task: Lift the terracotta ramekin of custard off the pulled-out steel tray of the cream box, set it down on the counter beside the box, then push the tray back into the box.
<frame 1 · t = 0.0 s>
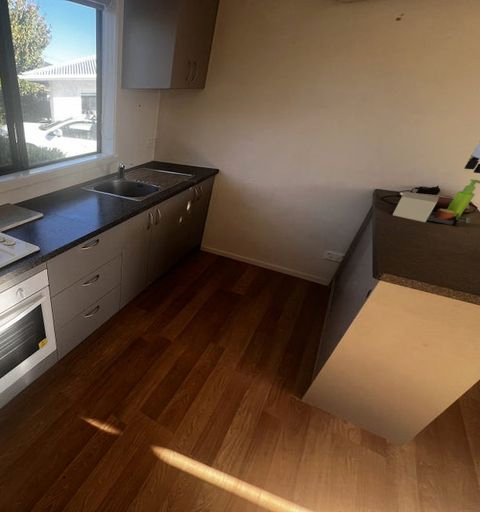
hand: (473, 170, 137), 27 cm above the worktop, tool pointing down, fingers open, 9 cm apart
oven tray: (445, 217, 149), point 3 cm above the worktop, slide at 9.0 cm, touching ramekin
cream box: (409, 216, 159), on the worktop
soap dispenser: (451, 217, 158), on the worktop
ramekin: (442, 219, 150), point 2 cm above the worktop, touching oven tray
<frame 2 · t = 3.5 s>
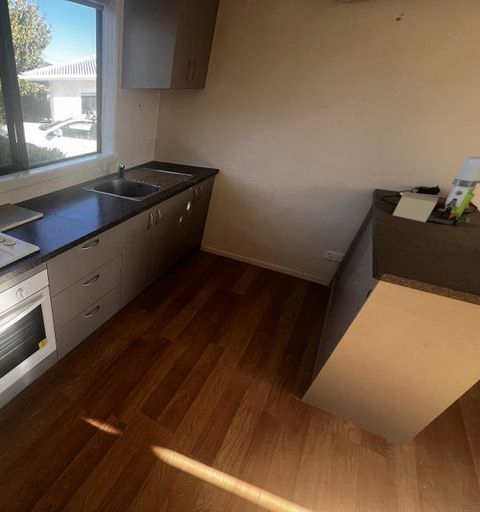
hand: (443, 217, 150), 3 cm above the worktop, tool pointing down, fingers closed on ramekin, 6 cm apart
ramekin: (442, 218, 150), point 2 cm above the worktop, touching gripper, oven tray
everything else where it was.
when the fingers open (1 cm above the worktop, at t = 11.2 s): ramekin stays where it is, on the worktop.
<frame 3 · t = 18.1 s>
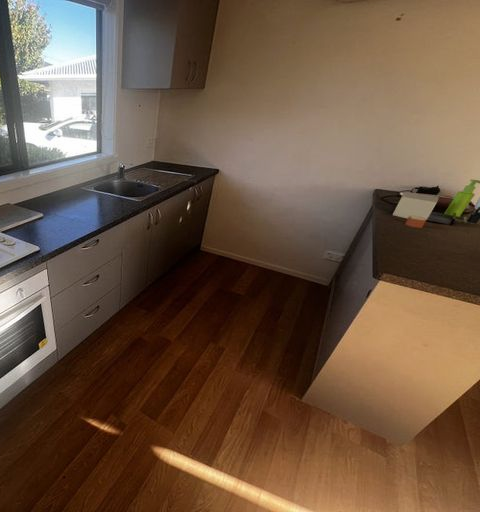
hand: (471, 222, 144), 3 cm above the worktop, tool pointing down, fingers closed
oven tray: (442, 216, 150), point 3 cm above the worktop, slide at 8.1 cm, touching gripper
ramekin: (413, 226, 147), on the worktop
everything else where it was.
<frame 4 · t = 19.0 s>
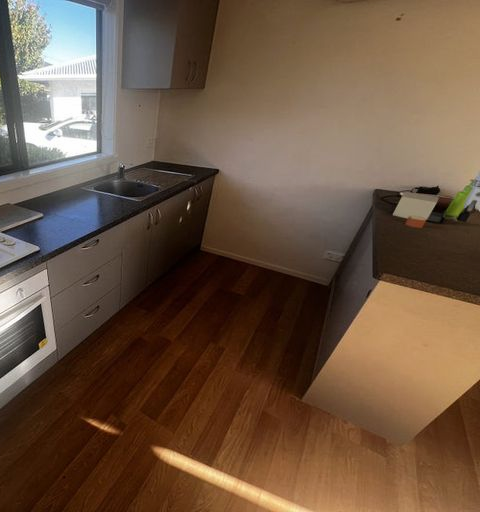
hand: (460, 220, 146), 3 cm above the worktop, tool pointing down, fingers closed
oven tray: (433, 215, 152), point 3 cm above the worktop, slide at 4.6 cm, touching gripper
everything else where it was.
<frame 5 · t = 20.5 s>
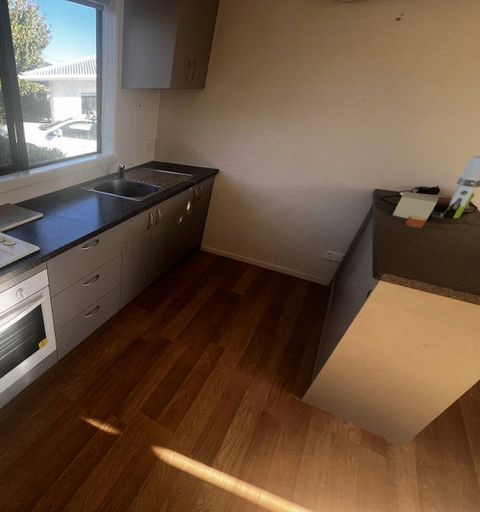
hand: (447, 218, 149), 3 cm above the worktop, tool pointing down, fingers closed
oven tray: (420, 212, 156), point 3 cm above the worktop, slide at -0.1 cm, touching gripper, cream box
everything else where it was.
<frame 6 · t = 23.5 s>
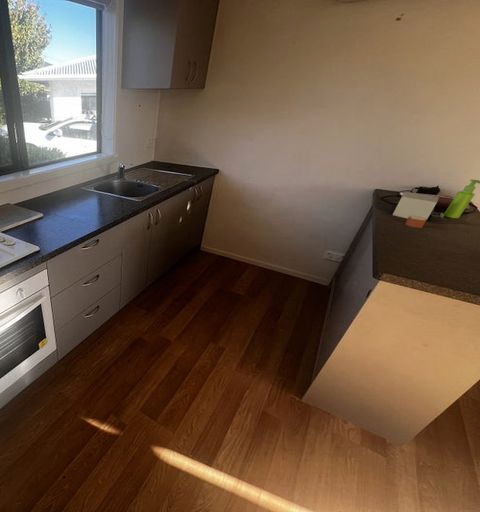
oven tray: (421, 212, 155), point 3 cm above the worktop, slide at 0.0 cm
everything else where it was.
at the end: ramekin inside the target area (0.1 cm from its centre), on the worktop; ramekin tilted 0°; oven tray slide at 0.0 cm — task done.
